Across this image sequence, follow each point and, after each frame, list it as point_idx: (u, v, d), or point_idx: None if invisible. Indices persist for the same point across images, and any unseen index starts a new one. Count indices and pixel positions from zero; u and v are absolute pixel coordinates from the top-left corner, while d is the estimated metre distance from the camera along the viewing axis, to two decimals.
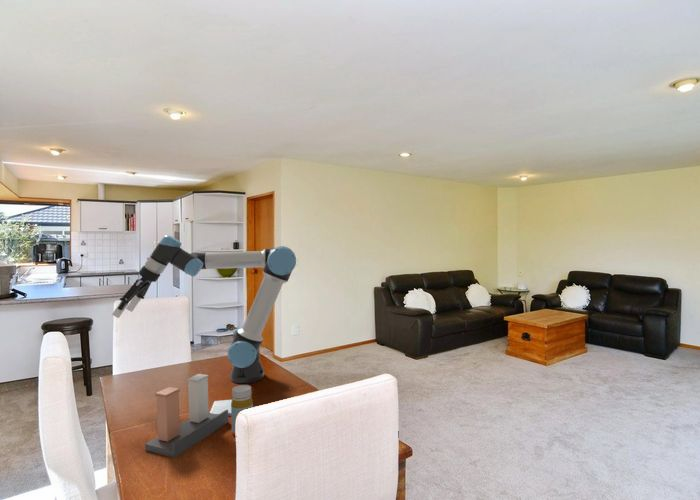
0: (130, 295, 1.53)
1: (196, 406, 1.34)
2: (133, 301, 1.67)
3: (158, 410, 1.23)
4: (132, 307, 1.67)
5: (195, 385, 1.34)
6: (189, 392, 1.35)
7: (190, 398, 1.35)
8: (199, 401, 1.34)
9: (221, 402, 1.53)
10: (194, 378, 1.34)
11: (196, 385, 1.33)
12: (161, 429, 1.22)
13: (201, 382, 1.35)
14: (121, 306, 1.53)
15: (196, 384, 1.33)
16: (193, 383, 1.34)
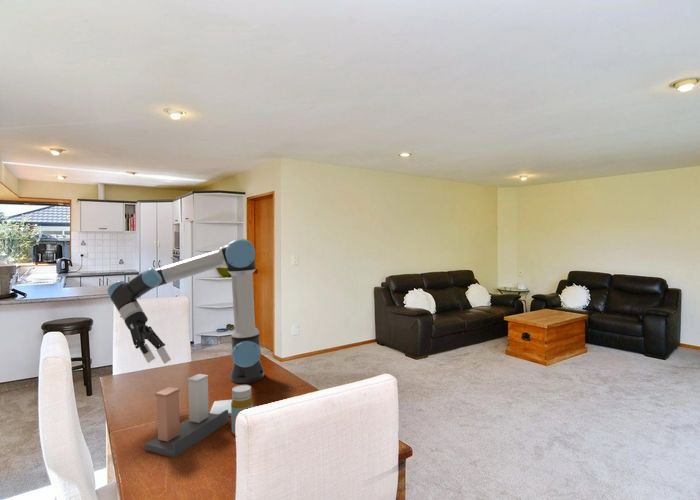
0: (136, 335, 1.43)
1: (196, 406, 1.34)
2: (160, 353, 1.56)
3: (158, 410, 1.23)
4: (166, 356, 1.56)
5: (195, 385, 1.34)
6: (189, 392, 1.35)
7: (190, 398, 1.35)
8: (199, 401, 1.34)
9: (221, 402, 1.53)
10: (194, 378, 1.34)
11: (196, 385, 1.33)
12: (161, 429, 1.22)
13: (201, 382, 1.35)
14: (143, 349, 1.43)
15: (196, 384, 1.33)
16: (193, 383, 1.34)
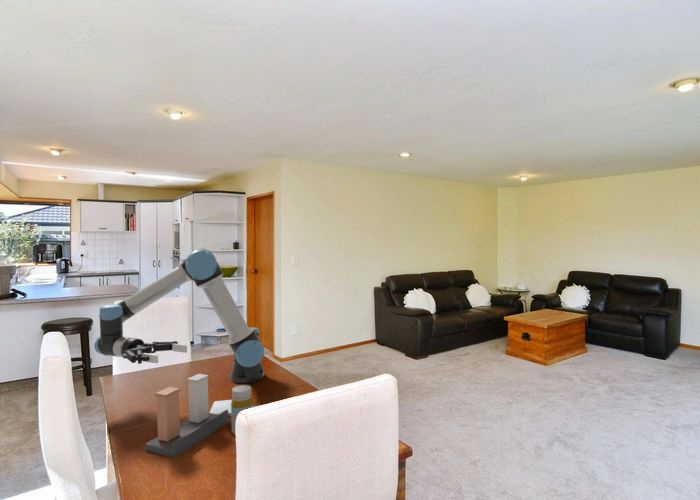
0: (129, 355, 1.36)
1: (196, 406, 1.34)
2: (176, 349, 1.48)
3: (158, 410, 1.23)
4: (181, 347, 1.47)
5: (195, 385, 1.34)
6: (189, 392, 1.35)
7: (190, 398, 1.35)
8: (199, 401, 1.34)
9: (221, 402, 1.53)
10: (194, 378, 1.34)
11: (196, 385, 1.33)
12: (161, 429, 1.22)
13: (201, 382, 1.35)
14: (143, 358, 1.35)
15: (196, 384, 1.33)
16: (193, 383, 1.34)
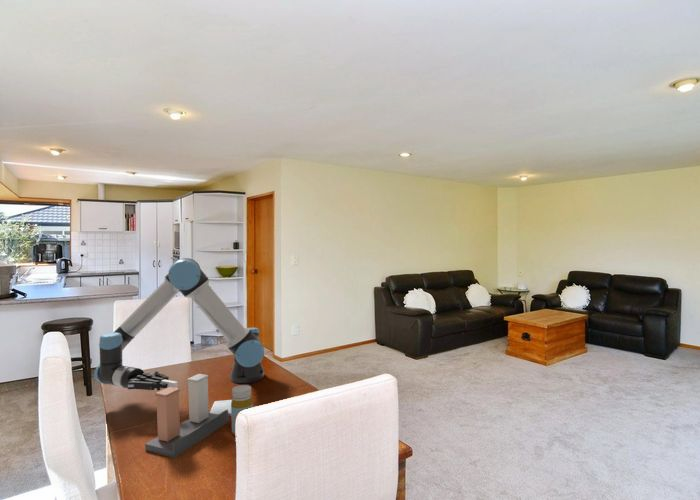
0: (145, 384, 1.40)
1: (196, 406, 1.34)
2: None
3: (158, 410, 1.23)
4: None
5: (195, 385, 1.34)
6: (189, 392, 1.35)
7: (190, 398, 1.35)
8: (199, 401, 1.34)
9: (221, 402, 1.53)
10: (194, 378, 1.34)
11: (196, 385, 1.33)
12: (161, 429, 1.22)
13: (201, 382, 1.35)
14: (161, 385, 1.40)
15: (196, 384, 1.33)
16: (193, 383, 1.34)
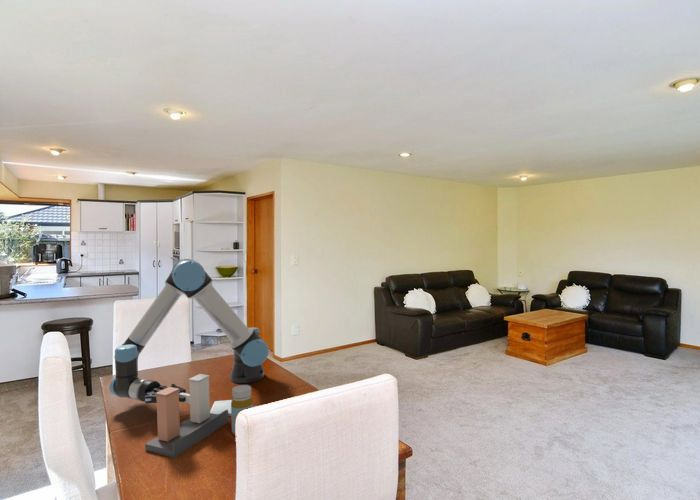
0: None
1: (197, 407, 1.33)
2: None
3: (158, 410, 1.23)
4: None
5: (196, 385, 1.33)
6: (190, 392, 1.34)
7: (191, 398, 1.34)
8: (200, 401, 1.34)
9: (221, 402, 1.53)
10: (195, 379, 1.34)
11: (197, 385, 1.33)
12: (161, 429, 1.22)
13: (202, 382, 1.35)
14: (179, 399, 1.37)
15: (197, 384, 1.33)
16: (194, 383, 1.34)
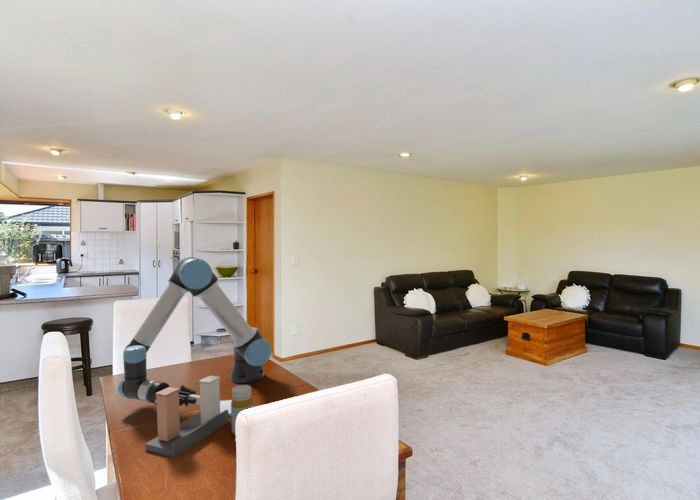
0: None
1: (208, 409, 1.32)
2: None
3: (158, 410, 1.23)
4: None
5: (207, 387, 1.32)
6: (201, 394, 1.33)
7: (202, 400, 1.33)
8: (211, 403, 1.32)
9: (221, 402, 1.53)
10: (206, 380, 1.32)
11: (208, 387, 1.31)
12: (161, 429, 1.22)
13: (213, 384, 1.33)
14: (189, 401, 1.35)
15: (208, 386, 1.31)
16: (205, 385, 1.32)
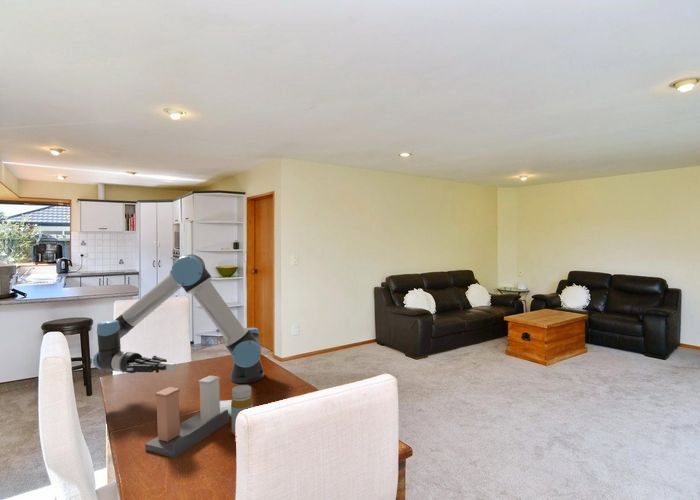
0: (143, 367, 1.43)
1: (208, 409, 1.32)
2: None
3: (158, 410, 1.23)
4: None
5: (206, 387, 1.32)
6: (201, 394, 1.33)
7: (201, 400, 1.33)
8: (210, 403, 1.32)
9: (221, 402, 1.53)
10: (205, 380, 1.32)
11: (208, 387, 1.31)
12: (161, 429, 1.22)
13: (213, 384, 1.33)
14: (160, 367, 1.43)
15: (208, 386, 1.31)
16: (205, 385, 1.32)
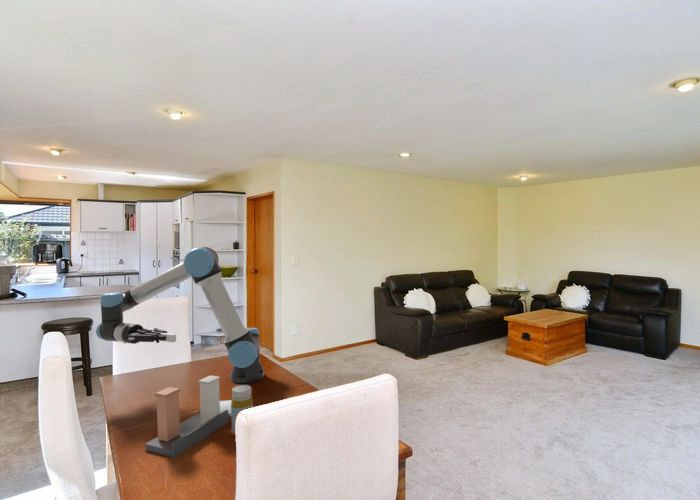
0: (144, 336, 1.47)
1: (208, 409, 1.32)
2: None
3: (158, 410, 1.23)
4: None
5: (206, 387, 1.32)
6: (201, 394, 1.33)
7: (201, 400, 1.33)
8: (210, 403, 1.32)
9: (221, 403, 1.53)
10: (205, 380, 1.32)
11: (208, 387, 1.31)
12: (161, 429, 1.22)
13: (213, 384, 1.33)
14: (160, 338, 1.47)
15: (208, 386, 1.31)
16: (205, 385, 1.32)
